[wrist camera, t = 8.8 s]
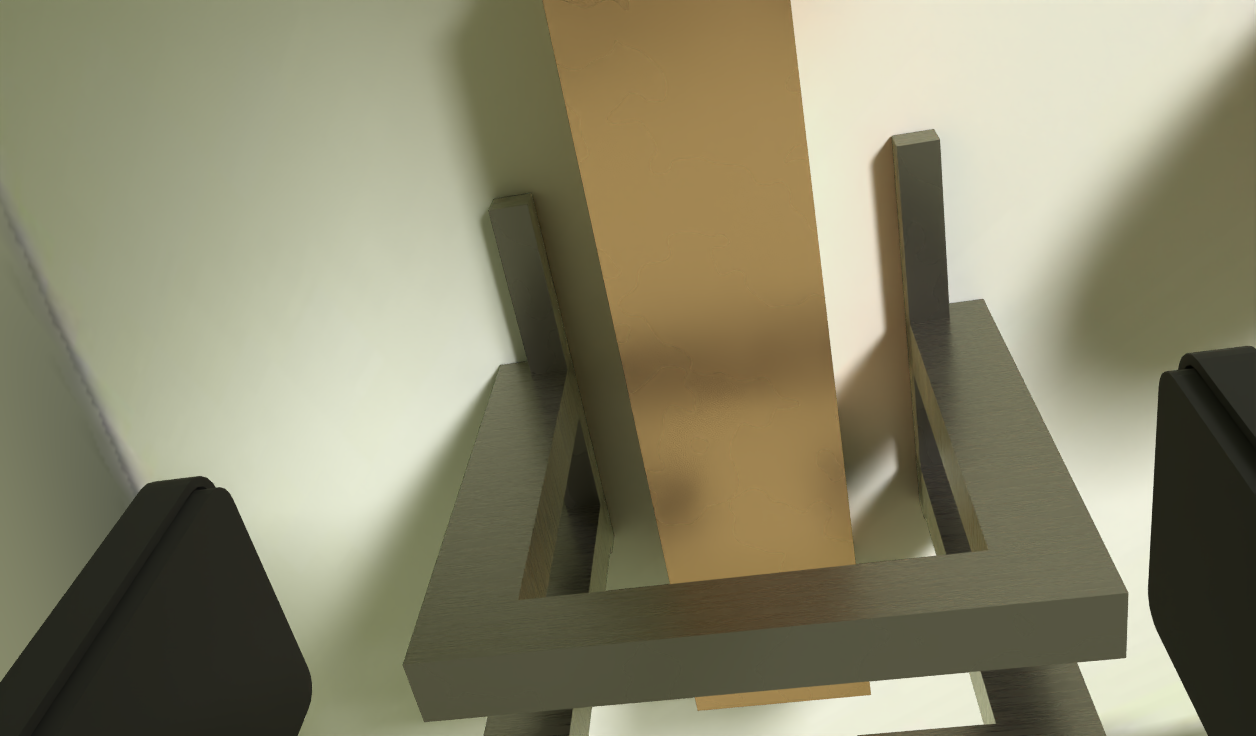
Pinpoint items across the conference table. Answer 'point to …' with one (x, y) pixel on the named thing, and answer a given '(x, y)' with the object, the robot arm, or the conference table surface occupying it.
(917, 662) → the gray arch posts
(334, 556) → the conference table surface
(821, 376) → the long brass-colored rectangular prism
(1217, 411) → the robot arm
